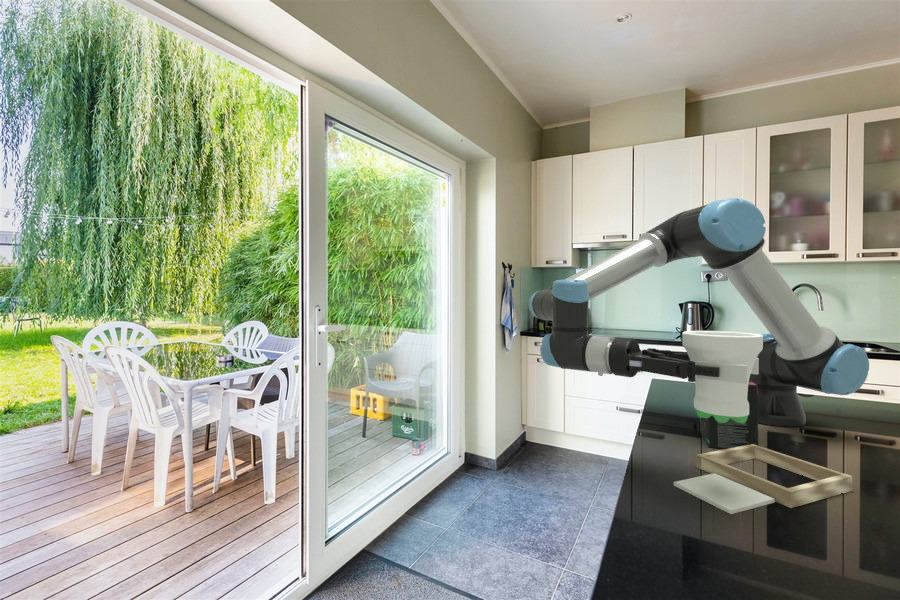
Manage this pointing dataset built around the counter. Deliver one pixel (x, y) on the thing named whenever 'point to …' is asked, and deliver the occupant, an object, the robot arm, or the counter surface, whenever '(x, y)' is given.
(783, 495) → the birch frame
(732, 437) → the tampon box
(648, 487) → the counter surface
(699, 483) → the felt mat
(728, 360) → the cup
